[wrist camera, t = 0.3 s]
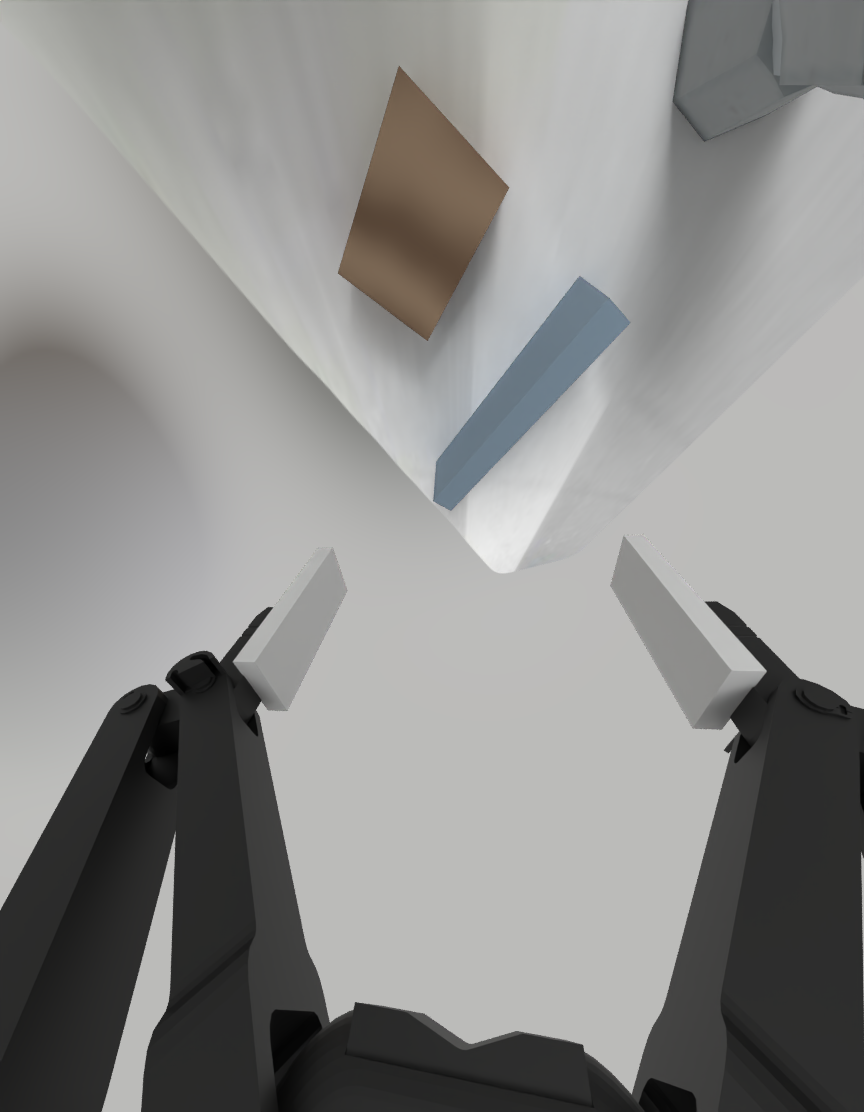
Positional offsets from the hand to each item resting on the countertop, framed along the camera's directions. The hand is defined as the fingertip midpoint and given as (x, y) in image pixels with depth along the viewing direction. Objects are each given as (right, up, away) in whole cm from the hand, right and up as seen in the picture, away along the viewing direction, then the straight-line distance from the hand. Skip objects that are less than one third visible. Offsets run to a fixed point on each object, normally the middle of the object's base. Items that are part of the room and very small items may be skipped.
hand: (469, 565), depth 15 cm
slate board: (+6, +18, +19) cm, 27 cm away
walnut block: (-3, +27, +10) cm, 29 cm away
